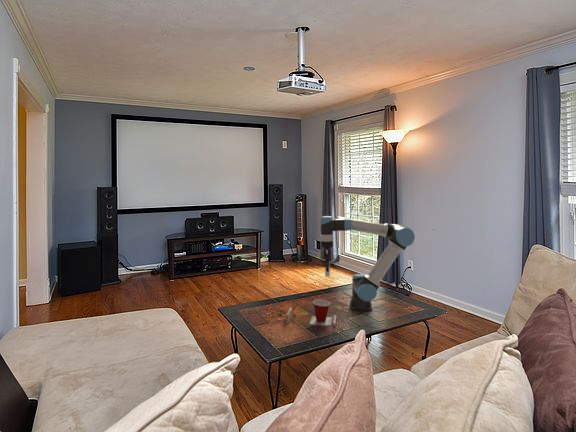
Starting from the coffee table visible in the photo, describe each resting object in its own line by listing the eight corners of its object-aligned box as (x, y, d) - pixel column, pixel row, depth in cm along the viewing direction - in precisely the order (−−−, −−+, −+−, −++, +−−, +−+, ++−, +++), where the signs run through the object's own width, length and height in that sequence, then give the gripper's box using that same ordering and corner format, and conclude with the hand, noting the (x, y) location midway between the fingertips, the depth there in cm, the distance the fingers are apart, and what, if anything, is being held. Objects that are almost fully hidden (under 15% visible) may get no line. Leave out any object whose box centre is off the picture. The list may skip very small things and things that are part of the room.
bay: (336, 318, 240) (336, 310, 239) (335, 326, 227) (335, 318, 227) (289, 315, 245) (289, 307, 245) (286, 322, 233) (286, 314, 232)
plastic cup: (329, 324, 229) (329, 305, 228) (311, 323, 231) (311, 304, 230) (330, 318, 239) (331, 299, 238) (313, 316, 242) (313, 298, 240)
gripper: (321, 237, 253) (322, 268, 255) (320, 244, 228) (321, 278, 231) (332, 237, 252) (333, 268, 254) (332, 244, 227) (333, 278, 230)
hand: (327, 273), depth 242 cm, fingers open, 13 cm apart
